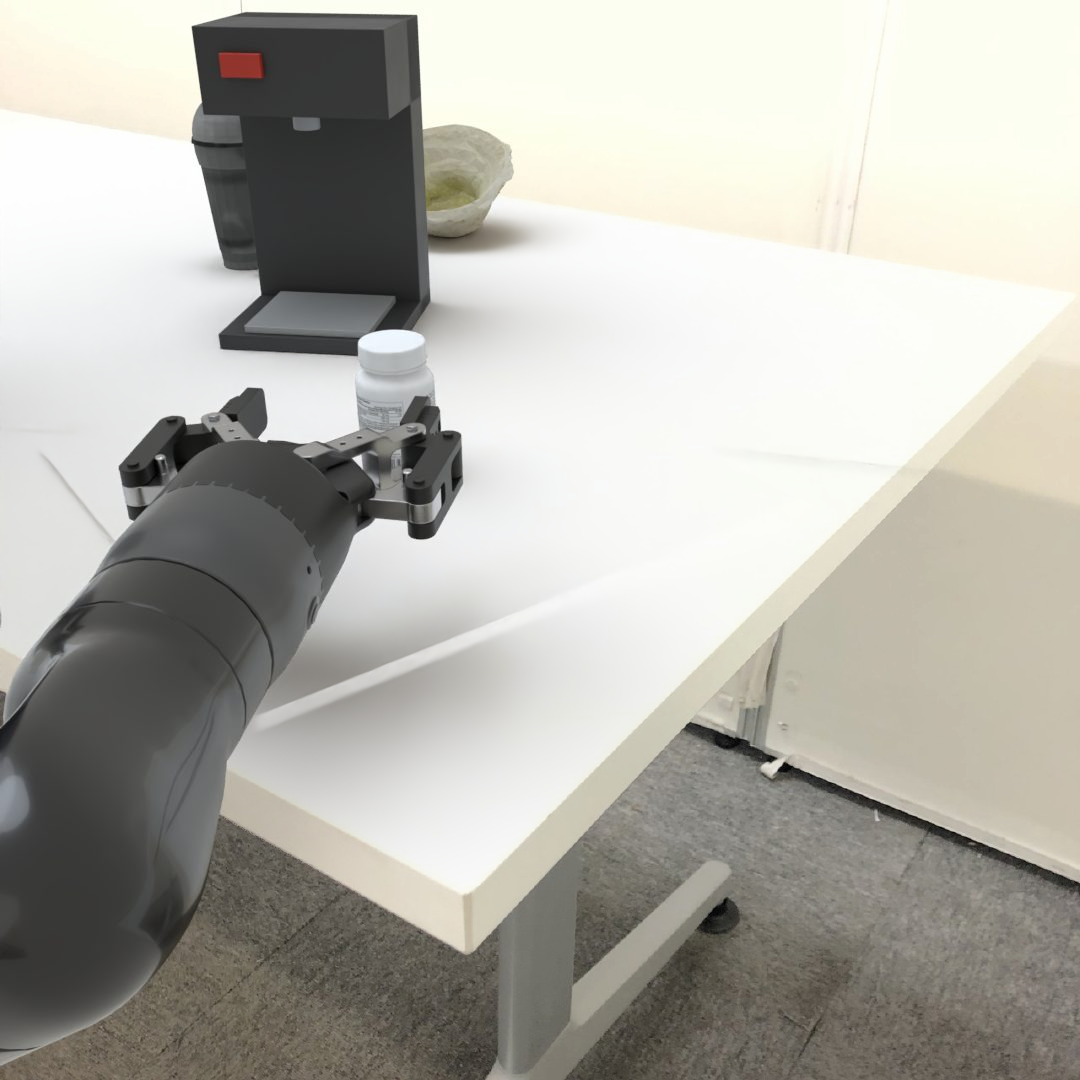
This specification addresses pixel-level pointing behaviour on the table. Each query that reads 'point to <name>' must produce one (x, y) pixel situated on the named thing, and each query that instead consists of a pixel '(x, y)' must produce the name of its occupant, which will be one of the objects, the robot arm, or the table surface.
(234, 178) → the beverage cup
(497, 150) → the bowl
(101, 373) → the table surface
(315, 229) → the coffee maker
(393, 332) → the pill bottle
